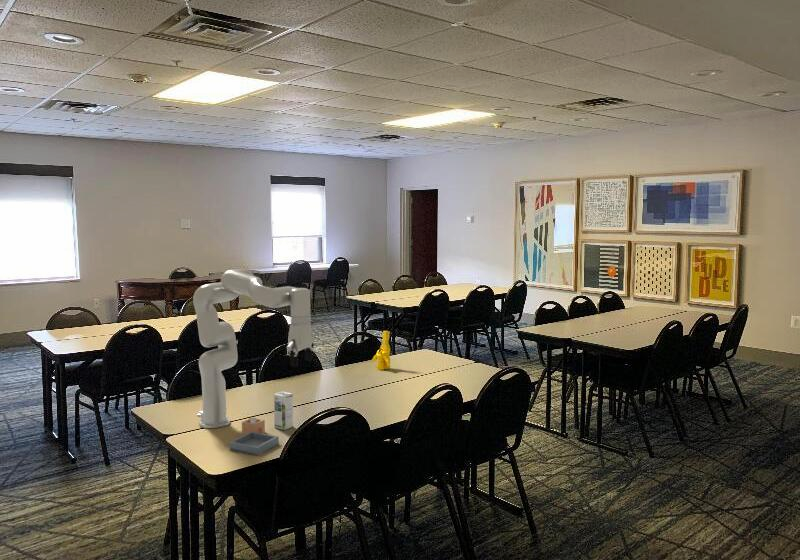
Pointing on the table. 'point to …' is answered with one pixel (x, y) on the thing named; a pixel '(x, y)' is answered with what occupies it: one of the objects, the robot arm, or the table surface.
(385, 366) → the figure statuette
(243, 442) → the tray
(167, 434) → the table surface
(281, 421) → the syrup box
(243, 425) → the salmon pink block
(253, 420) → the stake
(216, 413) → the robot arm
